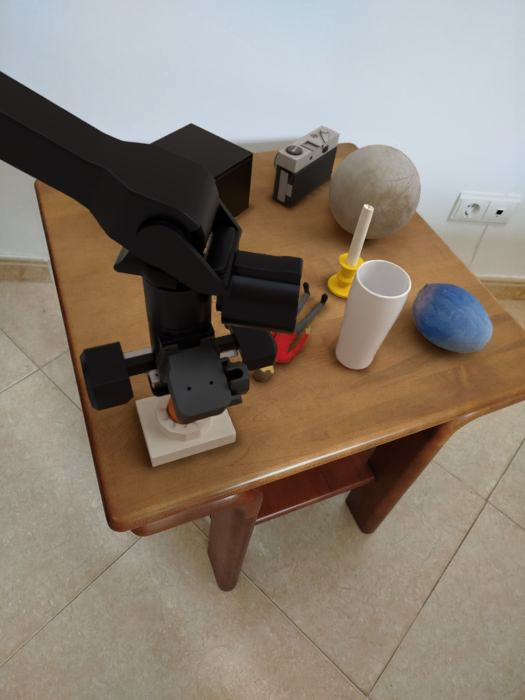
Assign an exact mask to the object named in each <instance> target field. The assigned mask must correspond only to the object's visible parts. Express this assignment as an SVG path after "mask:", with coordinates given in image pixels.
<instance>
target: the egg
mask: <svg viewBox="0 0 525 700" xmlns="http://www.w3.org/2000/svg"><path fill="white" fill-rule="evenodd" d="M411 312H412V317H413V322H414V324H415V327H416V328H417V330H418V331H419V333H420V334H421V335H422V336H423V337H424V338H425V339H427V340H428V341H429V342H430V343H432V344H433V345H436V346H437V347H439V348H441V349H445V350H447V351H451V352H456V353H463V354H470V353H475V352H478V351H481V350H482V349H484V348H485V347H486V346H487V345H488V343H489V341H490V340H491V338H492V337H493V333H494V326H493V323H492V320H491V318H490V316H489V314H488V312H487V310H486V308H485V307H484V305H483V304H482V302H481V301H480V300H479V299H478V298H477V297H476V296H475V295H474V294H472V293H471V292H469V291H468V290H466V289H465V288H463V287H461V286H458V285H455V284H453V283H443V282H442V283H441V282H436V283H435V282H434V283H425V285H424V286H423V287H422V288H421V289H419V290H418V292H417V293H416V296H415V298H414V300H413V303H412V307H411Z"/></svg>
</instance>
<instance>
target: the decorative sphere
mask: <svg viewBox="0 0 525 700" xmlns="http://www.w3.org/2000/svg"><path fill="white" fill-rule="evenodd" d="M421 183H422V182H421V178H420V175H419V171H418V169H417V167H416V166H415V163H414V162H413V161H412V160H411V158H410V157H409V156H408V155H407V154H406V153H404V152H403V151H402V150H400V149H398V148H396V147H394V146H391V145H387V144H369V145H365V146H362V147H359V148H357V149H355V150H354V151H351V152H350V153H349V154H348V155H347V156H346V157H344V158H343V159H342V160H341V161H340V163H338V166H337V167H336V168H335V170H334V172H333V174H332V175H331V179H330V182H329V187H328V202H329V207H330V211H331V214H332V216H333V217H334V219H335V221H336V222H337V223H338V225H339V226H340V227H341V228H342V229H343V230H345V231H346V232H347V233H349V234H351V235H352V236H354V233H355V230H356V227H357V224H358V220H359V217H360V214H361V211H362V209H363V206H364V205H369V203H370V206H372V207H373V208H374V210H373V214H372V218H371V221H370V224H369V227H368V231H367V234H366V237H365V239H367V240H377V239H382V238H386V237H388V236H391V235H393V234H395V233H397V232H398V231H400V230H401V229H403V227H405V226H406V225H407V224H408V223H409V221H410V220H411V219H412V218H413V216H414V215H415V213H416V210H417V208H418V206H419V203H420V200H421V192H422V185H421Z"/></svg>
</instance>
